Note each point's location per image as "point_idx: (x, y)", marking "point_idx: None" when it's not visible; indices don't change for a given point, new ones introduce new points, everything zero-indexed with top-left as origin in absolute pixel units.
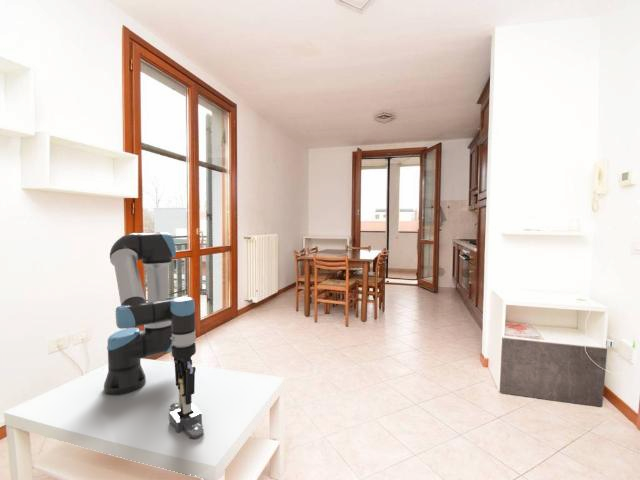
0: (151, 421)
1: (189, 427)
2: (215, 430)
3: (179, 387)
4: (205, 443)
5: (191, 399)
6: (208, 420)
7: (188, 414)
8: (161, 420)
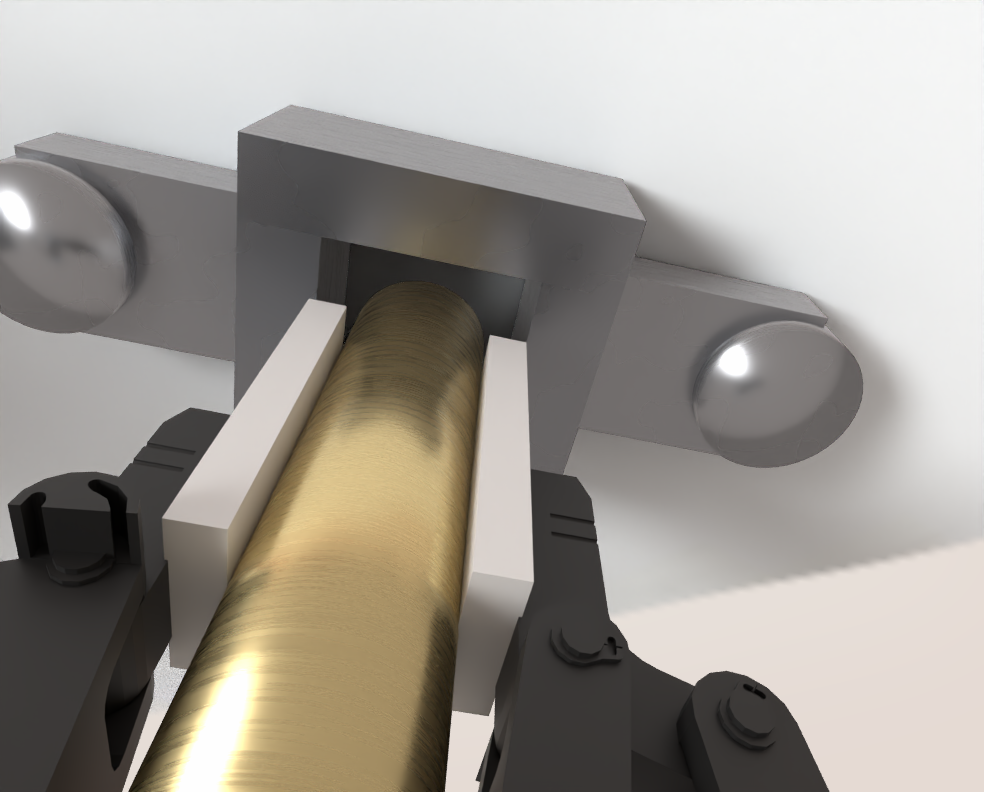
0: (114, 473)
1: (648, 401)
2: (915, 165)
3: (138, 726)
4: (946, 377)
5: (529, 465)
6: (652, 72)
7: (483, 345)
8: (167, 414)
